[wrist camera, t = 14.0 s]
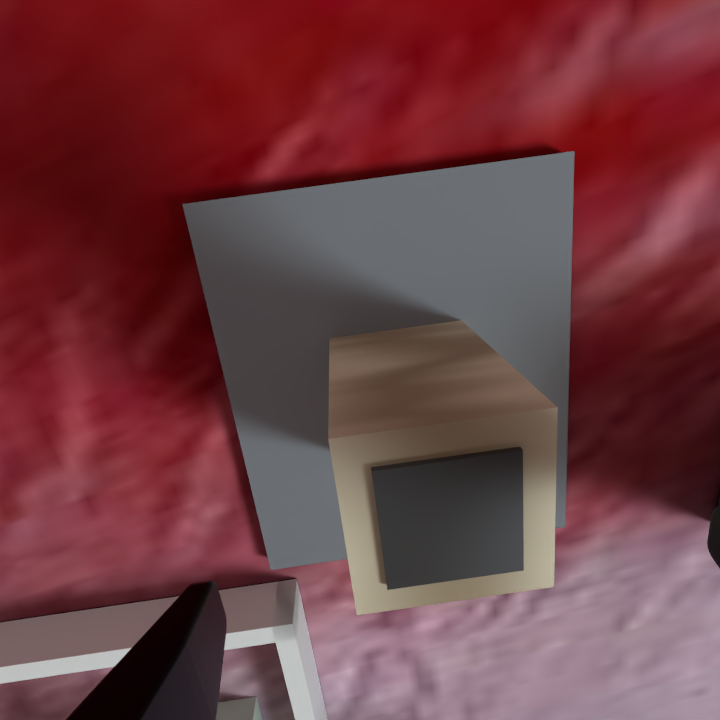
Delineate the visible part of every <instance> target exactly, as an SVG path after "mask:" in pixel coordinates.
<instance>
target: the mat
mask: <svg viewBox="0 0 720 720" xmlns="http://www.w3.org/2000/svg"><path fill="white" fill-rule="evenodd" d="M573 187H574V151H572V152H564V153H557V154H550V155H542V156H535V157H527V158H520V159H513V160H505V161H498V162H490V163H483V164H475V165H468V166H461V167H453V168H446V169H438V170H431V171H424V172H416V173H409V174H401V175H394V176H387V177H379V178H372V179H364V180H357V181H350V182H342V183H335V184H327V185H320V186H312V187H305V188H298V189H290V190H283V191H275V192H268V193H261V194H253V195H246V196H238V197H231V198H224V199H216V200H209V201H201V202H194V203H187V204H182V205H183V209H184V213H185V217H186V221H187V226H188V230H189V234H190V238H191V242H192V246H193V250H194V254H195V259H196V263H197V267H198V271H199V275H200V279H201V283H202V288H203V292H204V296H205V300H206V304H207V308H208V312H209V316H210V321H211V325H212V329H213V333H214V337H215V341H216V345H217V350H218V354H219V358H220V362H221V366H222V370H223V374H224V378H225V383H226V387H227V391H228V395H229V399H230V403H231V407H232V412H233V416H234V420H235V424H236V428H237V432H238V436H239V440H240V445H241V449H242V453H243V457H244V461H245V465H246V469H247V474H248V478H249V482H250V486H251V490H252V494H253V498H254V503H255V507H256V511H257V515H258V519H259V523H260V527H261V531H262V536H263V540H264V544H265V548H266V552H267V556H268V560H269V565H270V569H271V570H274V569H281V568H287V567H294V566H301V565H308V564H315V563H321V562H328V561H335V560H342V559H348V557H347V551H346V545H345V539H344V532H343V526H342V520H341V514H340V508H339V502H338V496H337V490H336V484H335V477H334V471H333V465H332V459H331V453H330V447H329V441H328V418H329V340H330V338H334V337H342V336H349V335H356V334H364V333H371V332H379V331H386V330H394V329H401V328H409V327H416V326H423V325H431V324H438V323H446V322H453V321H461V320H462V321H463V322H464V323H465V324H466V325H467V326H468V327H470V328H471V329H472V330H473V331H474V332H475V333H476V334H477V335H478V336H479V337H481V338H482V339H483V340H484V341H485V342H486V343H487V344H488V345H489V346H490V347H492V348H493V349H494V350H495V351H496V352H497V353H498V354H499V355H500V356H502V357H503V358H504V359H505V360H506V361H507V362H508V363H509V364H510V365H511V366H513V367H514V368H515V369H516V370H517V371H518V372H519V373H520V374H521V375H522V376H524V377H525V378H526V379H527V380H528V381H529V382H530V383H531V384H532V385H534V386H535V387H536V388H537V389H538V390H539V391H540V392H541V393H542V394H543V395H545V396H546V397H547V398H548V399H549V400H550V401H551V402H552V403H553V404H554V405H556V406H557V407H558V419H557V466H556V513H555V528H560V527H566V484H567V442H568V399H569V357H570V314H571V272H572V230H573Z"/></svg>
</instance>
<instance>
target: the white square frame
mask: <svg viewBox="0 0 720 720" xmlns="http://www.w3.org/2000/svg"><path fill="white" fill-rule="evenodd" d="M219 593H220V596H221V600H222V603H223V607H224V610H225V613H226V619H227V630H226V639H225V647H224V650H229V649H236V648H243V647H250V646H256V645H263V644H270V643H276V646H277V650H278V654H279V658H280V662H281V666H282V670H283V674H284V678H285V682H286V686H287V689H288V693H289V697H290V701H291V705H292V709H293V713H294V717H295V720H328V718H327V714H326V709H325V705H324V700H323V695H322V691H321V686H320V682H319V677H318V673H317V668H316V664H315V659H314V655H313V650H312V646H311V641H310V636H309V632H308V627H307V623H306V618H305V614H304V609H303V605H302V600H301V596H300V591H299V586H298V582H297V579H292V580H286V581H279V582H272V583H265V584H258V585H252V586H245V587H238V588H231V589H224V590H219ZM178 597H179V596H177V597H170V598H163V599H156V600H150V601H143V602H136V603H129V604H122V605H115V606H109V607H102V608H95V609H88V610H81V611H75V612H68V613H61V614H54V615H47V616H41V617H34V618H27V619H20V620H13V621H7V622H0V684H1V683H8V682H15V681H21V680H28V679H35V678H41V677H48V676H55V675H62V674H68V673H75V672H82V671H88V670H95V669H102V668H109V667H115V666H116V664H117V663H118V662H119V661H120V660H121V659H122V658H123V657H124V656H125V655H126V654H127V652H128V651H129V650H130V649H131V648H132V647H133V646H134V645H135V644H136V643H137V642H138V640H139V639H140V638H141V637H142V636H143V635H144V634H145V633H146V632H147V631H148V630H149V629H150V627H151V626H152V625H153V624H154V623H155V622H156V621H157V620H158V619H159V618H160V617H161V615H162V614H163V613H164V612H165V611H166V610H167V609H168V608H169V607H170V606H171V605H172V603H173V602H174V601H175V600H176V599H177V598H178Z"/></svg>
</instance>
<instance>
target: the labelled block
mask: <svg viewBox="0 0 720 720" xmlns="http://www.w3.org/2000/svg"><path fill="white" fill-rule="evenodd" d="M557 419H558V407H557V406H556V405H554V404H553V403H552V402H551V401H550V400H549V399H548V398H547V397H546V396H545V395H543V394H542V393H541V392H540V391H539V390H538V389H537V388H536V387H535V386H534V385H532V384H531V383H530V382H529V381H528V380H527V379H526V378H525V377H524V376H522V375H521V374H520V373H519V372H518V371H517V370H516V369H515V368H514V367H513V366H511V365H510V364H509V363H508V362H507V361H506V360H505V359H504V358H503V357H502V356H500V355H499V354H498V353H497V352H496V351H495V350H494V349H493V348H492V347H490V346H489V345H488V344H487V343H486V342H485V341H484V340H483V339H482V338H481V337H479V336H478V335H477V334H476V333H475V332H474V331H473V330H472V329H471V328H470V327H468V326H467V325H466V324H465V323H464V322H463V321H462V320H461V321H453V322H446V323H438V324H431V325H423V326H416V327H409V328H401V329H394V330H386V331H379V332H371V333H364V334H356V335H349V336H342V337H334V338H330V340H329V418H328V441H329V447H330V453H331V459H332V465H333V471H334V477H335V484H336V490H337V496H338V502H339V508H340V514H341V520H342V526H343V532H344V539H345V545H346V551H347V557H348V563H349V569H350V575H351V581H352V588H353V594H354V600H355V606H356V612H357V615H362V614H369V613H376V612H383V611H390V610H397V609H404V608H411V607H418V606H425V605H432V604H439V603H445V602H452V601H459V600H466V599H473V598H480V597H487V596H494V595H501V594H508V593H515V592H522V591H529V590H536V589H543V588H550V587H554V560H555V513H556V466H557Z"/></svg>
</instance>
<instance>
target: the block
mask: <svg viewBox="0 0 720 720" xmlns="http://www.w3.org/2000/svg"><path fill="white" fill-rule="evenodd" d="M216 720H263V718H262V715H261V711H260V708H259V704H258V701H257V697H251V698H244V699H238V700H231V701H224V702H218V707H217V715H216Z"/></svg>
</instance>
